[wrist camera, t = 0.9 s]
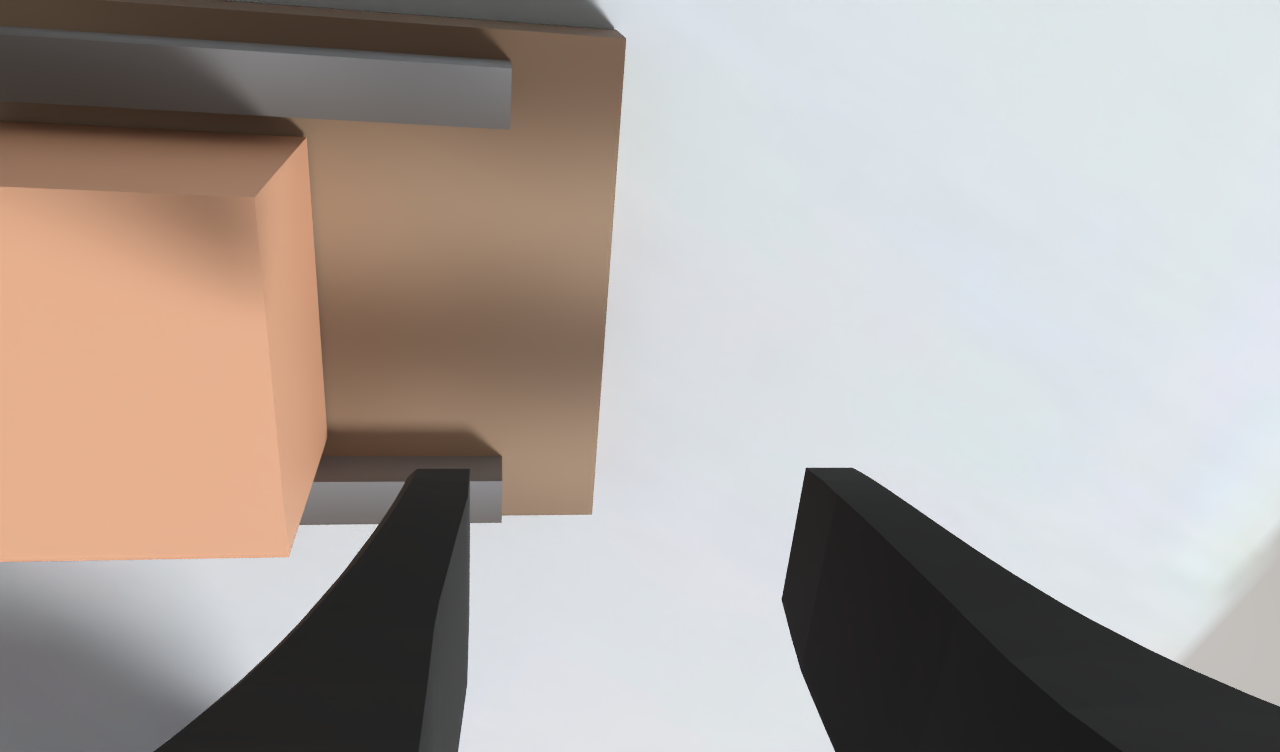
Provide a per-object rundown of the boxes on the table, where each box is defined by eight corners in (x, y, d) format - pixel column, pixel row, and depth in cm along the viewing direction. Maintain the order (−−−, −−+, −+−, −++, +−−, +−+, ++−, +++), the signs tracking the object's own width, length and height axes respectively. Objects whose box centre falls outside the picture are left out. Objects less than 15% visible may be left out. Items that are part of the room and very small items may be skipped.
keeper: (327, 437, 19) (288, 557, 15) (57, 436, 18) (-49, 562, 14) (306, 137, 16) (254, 197, 13) (-8, 120, 15) (-157, 179, 12)
